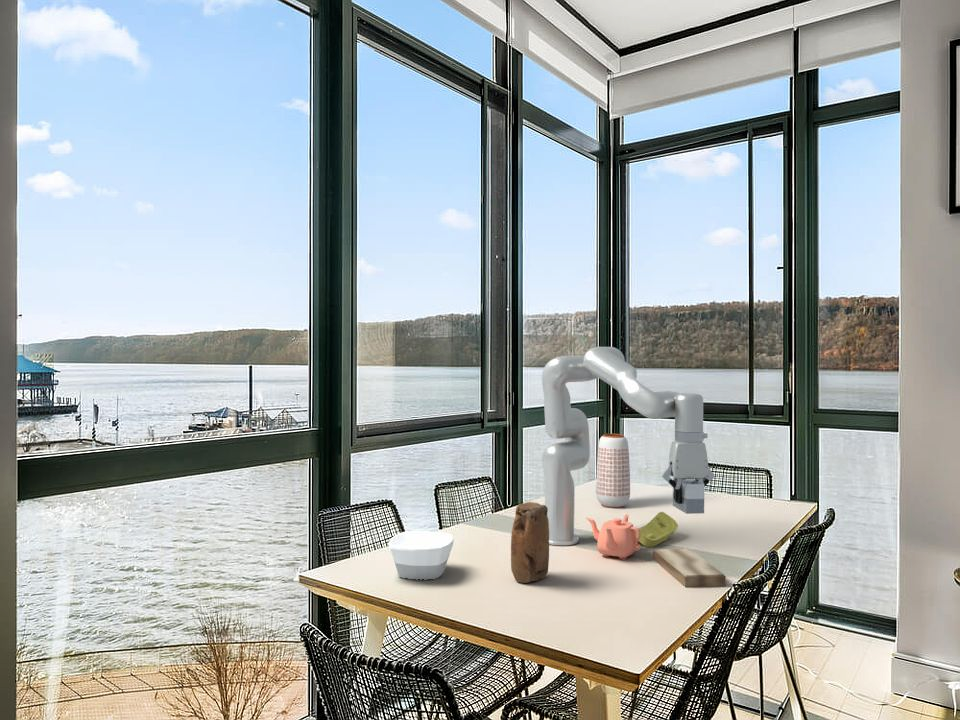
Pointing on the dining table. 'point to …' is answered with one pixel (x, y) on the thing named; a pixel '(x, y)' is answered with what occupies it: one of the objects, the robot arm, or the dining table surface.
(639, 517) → the dining table surface
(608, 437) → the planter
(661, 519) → the plastic component
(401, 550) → the bowl
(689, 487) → the housing
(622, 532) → the teapot
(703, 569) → the walnut stand
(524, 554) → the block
